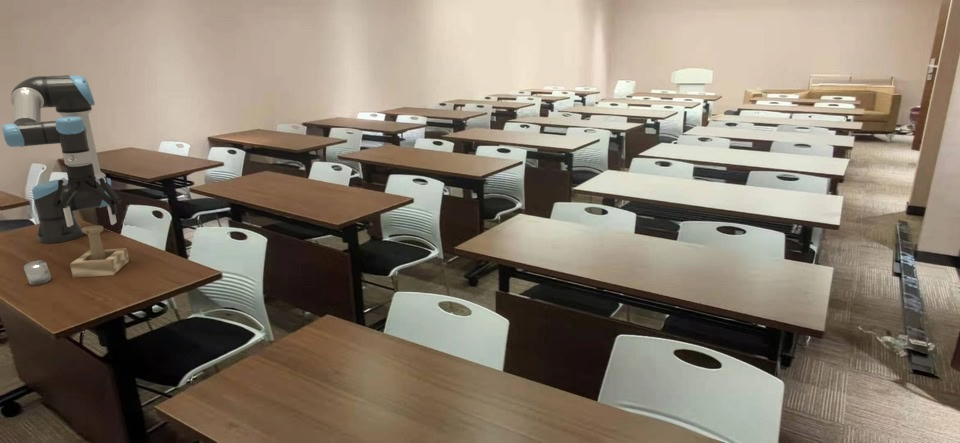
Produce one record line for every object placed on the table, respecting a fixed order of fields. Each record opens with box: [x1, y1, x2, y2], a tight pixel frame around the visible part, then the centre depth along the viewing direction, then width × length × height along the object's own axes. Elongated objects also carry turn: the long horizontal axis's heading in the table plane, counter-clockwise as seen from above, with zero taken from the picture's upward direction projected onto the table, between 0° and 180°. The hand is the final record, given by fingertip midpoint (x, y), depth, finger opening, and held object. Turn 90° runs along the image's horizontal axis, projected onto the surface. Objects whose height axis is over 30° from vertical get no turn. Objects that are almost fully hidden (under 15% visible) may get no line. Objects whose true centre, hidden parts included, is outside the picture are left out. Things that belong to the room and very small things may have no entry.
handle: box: [81, 225, 106, 260], centre depth 198 cm, size 5×6×15 cm
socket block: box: [69, 247, 130, 279], centre depth 199 cm, size 14×12×5 cm
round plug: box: [23, 259, 52, 286], centre depth 189 cm, size 6×6×6 cm
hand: (92, 224), depth 196 cm, fingers open, 13 cm apart
